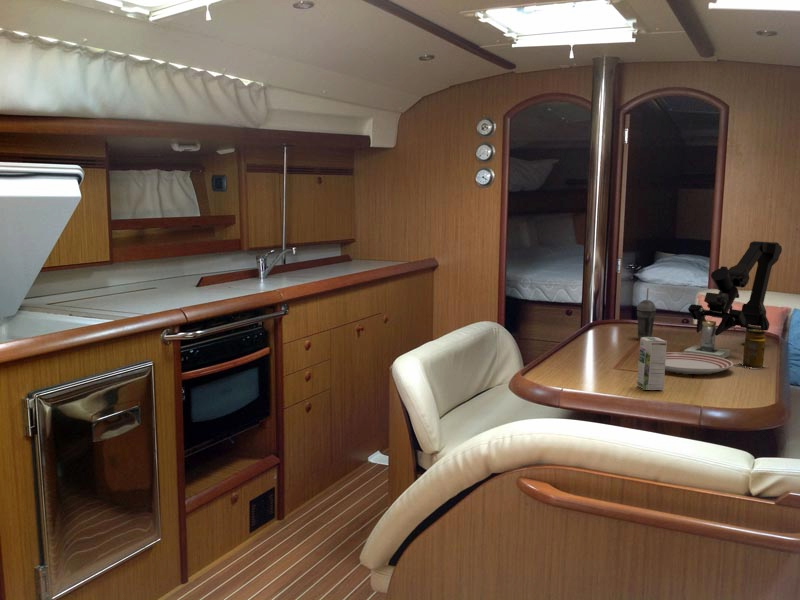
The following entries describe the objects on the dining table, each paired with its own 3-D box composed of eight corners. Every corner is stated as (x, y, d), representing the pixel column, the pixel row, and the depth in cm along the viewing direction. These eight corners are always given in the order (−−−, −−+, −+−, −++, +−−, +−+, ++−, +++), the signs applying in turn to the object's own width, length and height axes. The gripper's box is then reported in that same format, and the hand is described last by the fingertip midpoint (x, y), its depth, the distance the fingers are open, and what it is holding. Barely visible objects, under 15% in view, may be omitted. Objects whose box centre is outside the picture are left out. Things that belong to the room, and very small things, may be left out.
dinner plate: (623, 363, 244) (623, 353, 243) (686, 357, 255) (687, 347, 254) (685, 382, 219) (686, 371, 218) (752, 375, 230) (753, 364, 229)
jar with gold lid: (699, 353, 259) (702, 320, 258) (713, 354, 258) (715, 321, 256) (700, 356, 255) (702, 322, 254) (714, 357, 254) (716, 323, 252)
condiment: (768, 367, 241) (771, 330, 239) (753, 370, 236) (757, 333, 234) (747, 362, 247) (750, 327, 245) (732, 365, 242) (735, 329, 240)
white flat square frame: (694, 350, 265) (695, 345, 265) (729, 355, 257) (730, 349, 257) (683, 355, 256) (683, 350, 255) (719, 361, 248) (720, 355, 248)
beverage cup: (633, 341, 281) (636, 289, 279) (635, 337, 288) (638, 287, 285) (653, 342, 279) (657, 290, 276) (655, 339, 285) (658, 288, 283)
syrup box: (636, 386, 212) (639, 336, 210) (655, 386, 213) (659, 336, 211) (644, 391, 207) (647, 340, 205) (664, 391, 207) (667, 340, 205)
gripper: (692, 281, 263) (673, 314, 257) (744, 287, 248) (725, 322, 243) (702, 301, 269) (684, 334, 263) (753, 308, 254) (735, 343, 249)
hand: (706, 333), depth 255 cm, fingers open, 6 cm apart
